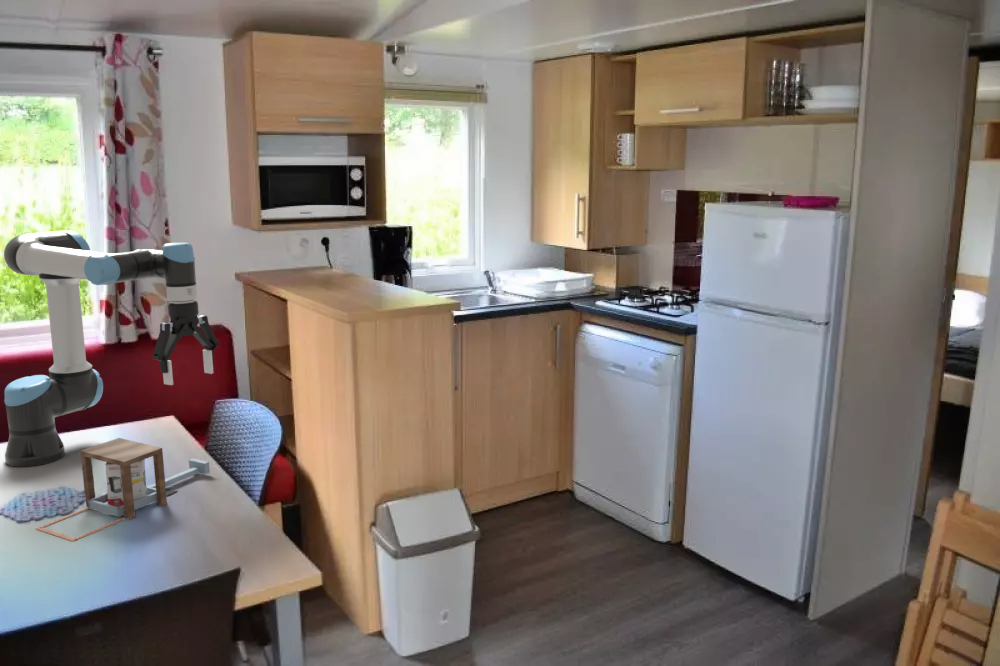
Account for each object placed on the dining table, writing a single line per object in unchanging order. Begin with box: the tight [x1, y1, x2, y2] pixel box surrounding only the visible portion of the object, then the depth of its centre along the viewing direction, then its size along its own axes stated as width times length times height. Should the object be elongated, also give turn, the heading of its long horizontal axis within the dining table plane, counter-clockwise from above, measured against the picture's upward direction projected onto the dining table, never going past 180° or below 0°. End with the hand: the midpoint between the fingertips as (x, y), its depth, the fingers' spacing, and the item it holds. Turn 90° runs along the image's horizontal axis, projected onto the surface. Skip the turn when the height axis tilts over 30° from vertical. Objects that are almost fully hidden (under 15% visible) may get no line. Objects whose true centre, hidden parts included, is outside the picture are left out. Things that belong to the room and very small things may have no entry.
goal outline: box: [35, 507, 126, 542], centre depth 195 cm, size 14×14×1 cm
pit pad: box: [166, 487, 178, 498], centre depth 214 cm, size 9×5×1 cm, turn 62°
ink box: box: [105, 459, 147, 507], centre depth 205 cm, size 9×5×12 cm, turn 107°
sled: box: [88, 457, 211, 518], centre depth 213 cm, size 11×31×3 cm, turn 152°
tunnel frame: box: [80, 437, 168, 520], centre depth 204 cm, size 16×11×15 cm
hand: (189, 378), depth 222 cm, fingers open, 13 cm apart
